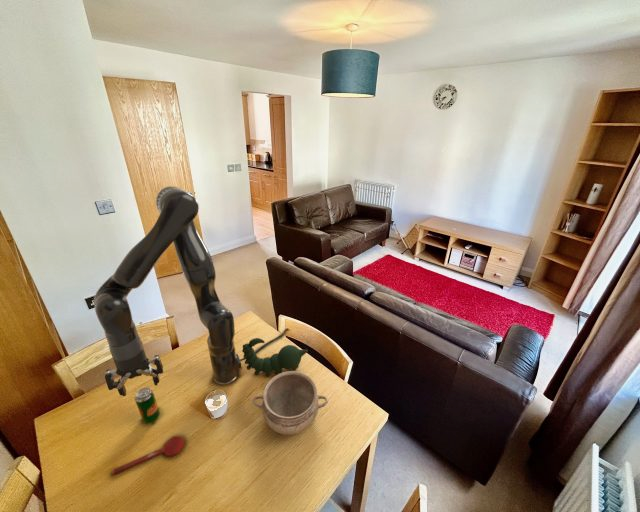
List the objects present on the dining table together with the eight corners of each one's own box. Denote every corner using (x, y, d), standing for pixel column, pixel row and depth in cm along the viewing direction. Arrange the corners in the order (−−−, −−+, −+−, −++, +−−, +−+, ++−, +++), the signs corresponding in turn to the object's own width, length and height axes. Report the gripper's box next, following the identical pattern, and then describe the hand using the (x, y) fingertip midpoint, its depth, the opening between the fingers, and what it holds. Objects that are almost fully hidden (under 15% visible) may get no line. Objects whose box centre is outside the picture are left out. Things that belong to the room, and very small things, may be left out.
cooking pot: (248, 445, 85) (245, 421, 80) (259, 392, 103) (257, 369, 97) (328, 445, 86) (329, 420, 81) (325, 392, 103) (327, 369, 98)
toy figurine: (248, 386, 107) (311, 374, 110) (239, 350, 98) (307, 338, 102) (249, 367, 115) (308, 356, 118) (241, 333, 107) (304, 322, 110)
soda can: (152, 425, 90) (143, 401, 85) (139, 422, 91) (129, 398, 86) (163, 411, 95) (155, 388, 89) (151, 408, 95) (142, 385, 90)
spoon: (183, 434, 88) (182, 431, 87) (184, 450, 84) (184, 448, 83) (113, 464, 80) (112, 462, 79) (111, 484, 75) (110, 482, 75)
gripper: (95, 368, 73) (112, 407, 80) (155, 350, 80) (166, 388, 87) (99, 349, 79) (115, 388, 86) (155, 334, 86) (165, 371, 93)
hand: (140, 388), depth 87 cm, fingers open, 8 cm apart
